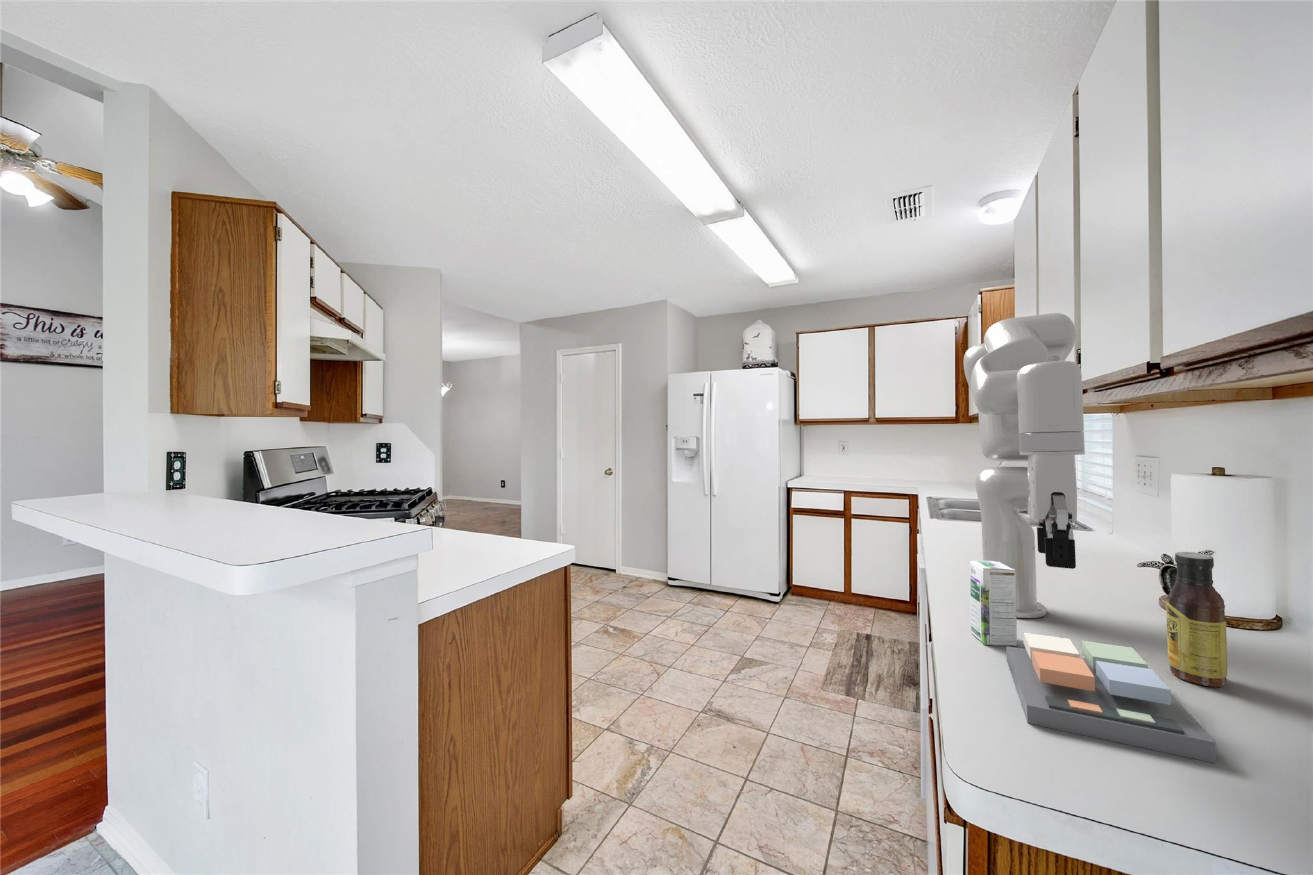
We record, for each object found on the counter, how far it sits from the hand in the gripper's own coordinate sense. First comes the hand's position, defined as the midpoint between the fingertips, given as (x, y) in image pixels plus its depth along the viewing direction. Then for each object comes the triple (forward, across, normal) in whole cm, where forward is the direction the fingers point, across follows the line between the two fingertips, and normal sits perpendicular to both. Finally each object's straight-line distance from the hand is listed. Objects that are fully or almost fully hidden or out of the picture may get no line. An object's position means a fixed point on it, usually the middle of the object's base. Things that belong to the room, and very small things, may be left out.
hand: (1055, 560), depth 71 cm
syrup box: (+20, -20, -8) cm, 30 cm away
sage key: (+17, -8, +7) cm, 20 cm away
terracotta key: (+17, 0, 0) cm, 17 cm away
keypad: (+21, -2, +4) cm, 21 cm away
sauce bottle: (+21, -18, +19) cm, 33 cm away
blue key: (+17, 0, +8) cm, 19 cm away
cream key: (+17, -7, 0) cm, 18 cm away
